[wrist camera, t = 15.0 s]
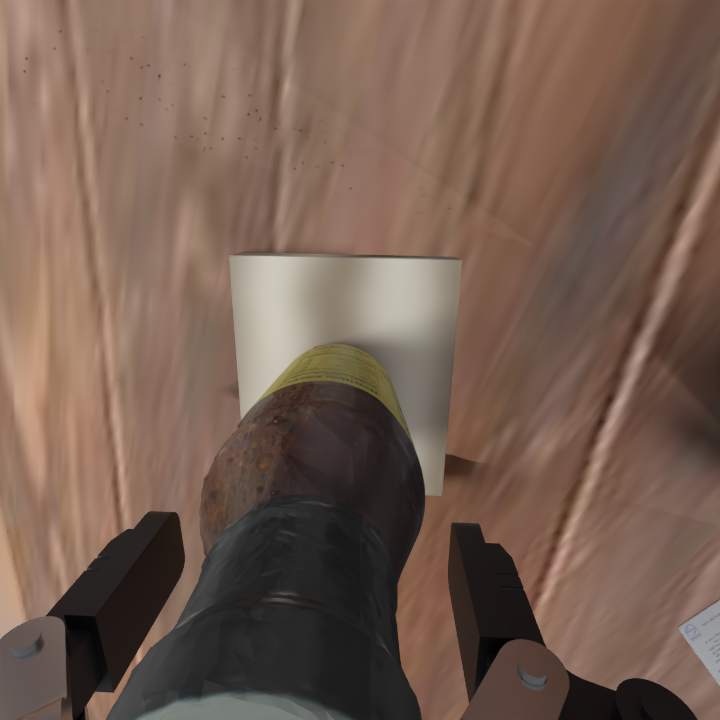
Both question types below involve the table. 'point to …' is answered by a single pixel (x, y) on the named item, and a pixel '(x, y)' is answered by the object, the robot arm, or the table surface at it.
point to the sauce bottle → (297, 559)
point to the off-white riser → (354, 328)
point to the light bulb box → (705, 638)
